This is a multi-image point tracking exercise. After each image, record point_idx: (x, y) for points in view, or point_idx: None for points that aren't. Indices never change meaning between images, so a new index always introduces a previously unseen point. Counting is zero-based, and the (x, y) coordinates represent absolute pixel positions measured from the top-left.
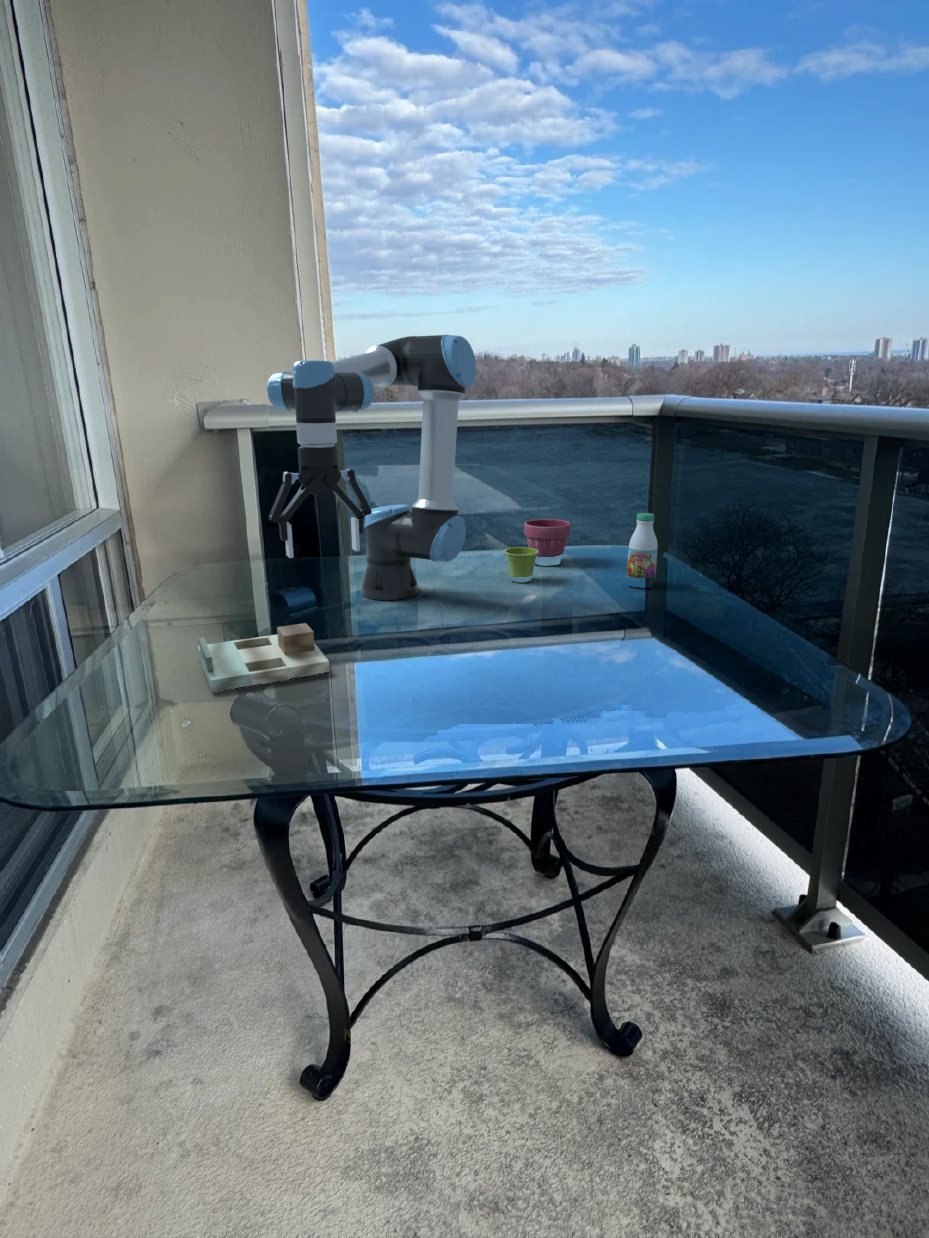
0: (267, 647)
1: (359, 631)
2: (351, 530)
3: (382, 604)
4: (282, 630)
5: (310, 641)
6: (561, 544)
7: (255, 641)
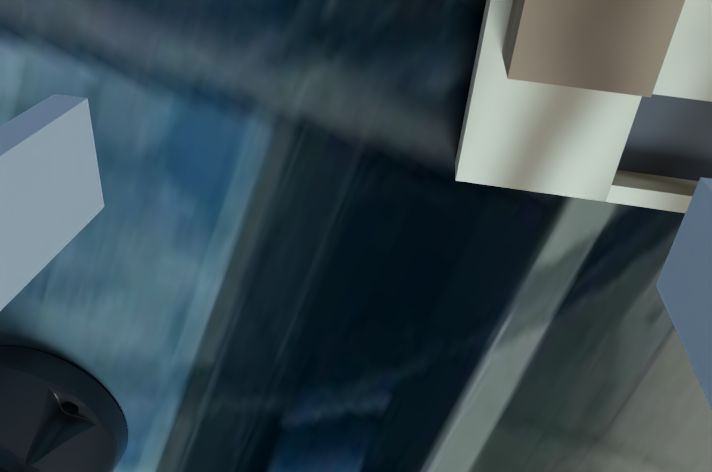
0: (678, 72)
1: (236, 150)
2: (4, 300)
3: (88, 340)
4: (658, 33)
5: None
6: None
7: (658, 187)
